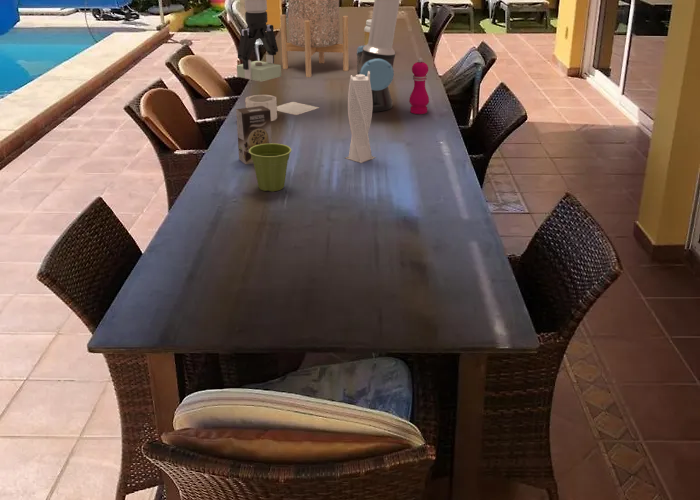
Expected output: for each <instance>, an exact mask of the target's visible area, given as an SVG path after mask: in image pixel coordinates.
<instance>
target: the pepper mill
mask: <svg viewBox="0 0 700 500" xmlns="http://www.w3.org/2000/svg"><path fill="white" fill-rule="evenodd" d="M423 61H424V60H423V58H422V57H419V58H417V62H415V63H413V65H412V67H411V72H412V74H413V75H412V77H413V78H412V80H413V83H414V84H413V85H414V86H413V89H412V92H411V93H410V94H409V95H410V96H409V101H408V102H409V103H410V104H409V105H411V106H410V109H409V112H410V113H411V114H415V115H423V114H427V113H428V104H429V102H430V98H429V94H428V92H427V89H426V80H427V77H428V76H427V74H428V73H429V65H428V64H427V63H426V62H423Z"/></svg>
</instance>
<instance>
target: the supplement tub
mask: <svg viewBox="0 0 700 500" xmlns="http://www.w3.org/2000/svg"><path fill="white" fill-rule="evenodd" d="M371 21H372V18H369V19H367V20H366V21H365V22H366V23H365V26H364V28H363V29H364V30H363V33H364V35H363V39H364V40H363V41H364V42H363V44H364V45H367V44H368V40H369V34H370V27H371Z"/></svg>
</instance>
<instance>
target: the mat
mask: <svg viewBox="0 0 700 500" xmlns="http://www.w3.org/2000/svg"><path fill="white" fill-rule="evenodd" d="M318 109H320V107H318V106H314V105H310V104H307V103H306V104H304V103H299V102H296V101H291V102H287V103H283V104H280V105H277V112H281V113H285V114H289V115H294V116H298V115H302V114H304V113H308V112H310V111H314V110H318Z"/></svg>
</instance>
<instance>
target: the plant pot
mask: <svg viewBox="0 0 700 500" xmlns="http://www.w3.org/2000/svg"><path fill="white" fill-rule="evenodd" d="M291 152H292V148H291V147H290V146H289V145H287V144H281V143H276V142H275V143H273V142H272V143H269V144H260V145H255V146H253V147H251V148H250V149H249V153H250V154H251V157H252V160H253V163H252V164H253V166H254V167H253V168H254V171H255V176H256V180H257V186H258V189H259V190H261V191H264V192H266V191H269V192H278V191H280V190H283V188H284V187H285V182H286V175H287V167H288V163H289V162H288V161H289V158H290V154H291Z"/></svg>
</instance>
